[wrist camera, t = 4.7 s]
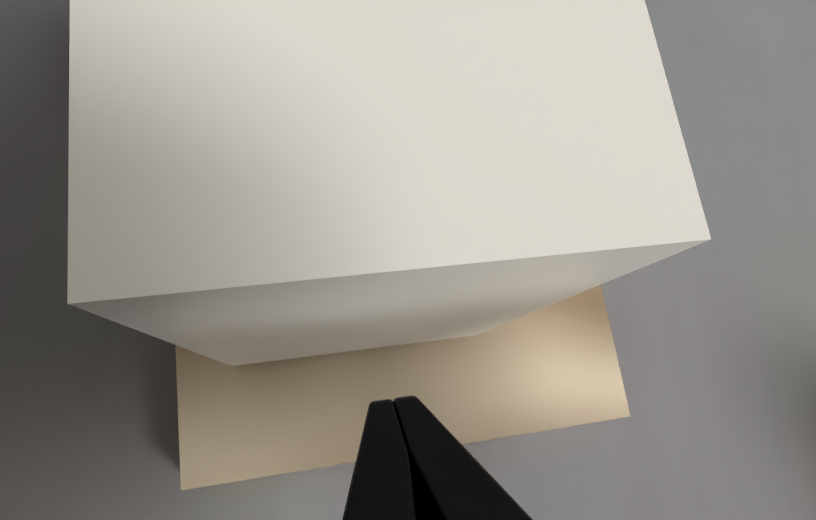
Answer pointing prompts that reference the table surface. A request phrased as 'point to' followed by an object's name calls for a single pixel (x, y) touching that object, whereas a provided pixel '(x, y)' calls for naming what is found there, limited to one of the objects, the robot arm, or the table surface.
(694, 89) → the table surface
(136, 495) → the table surface
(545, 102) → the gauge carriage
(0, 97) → the table surface
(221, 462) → the base
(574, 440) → the table surface
